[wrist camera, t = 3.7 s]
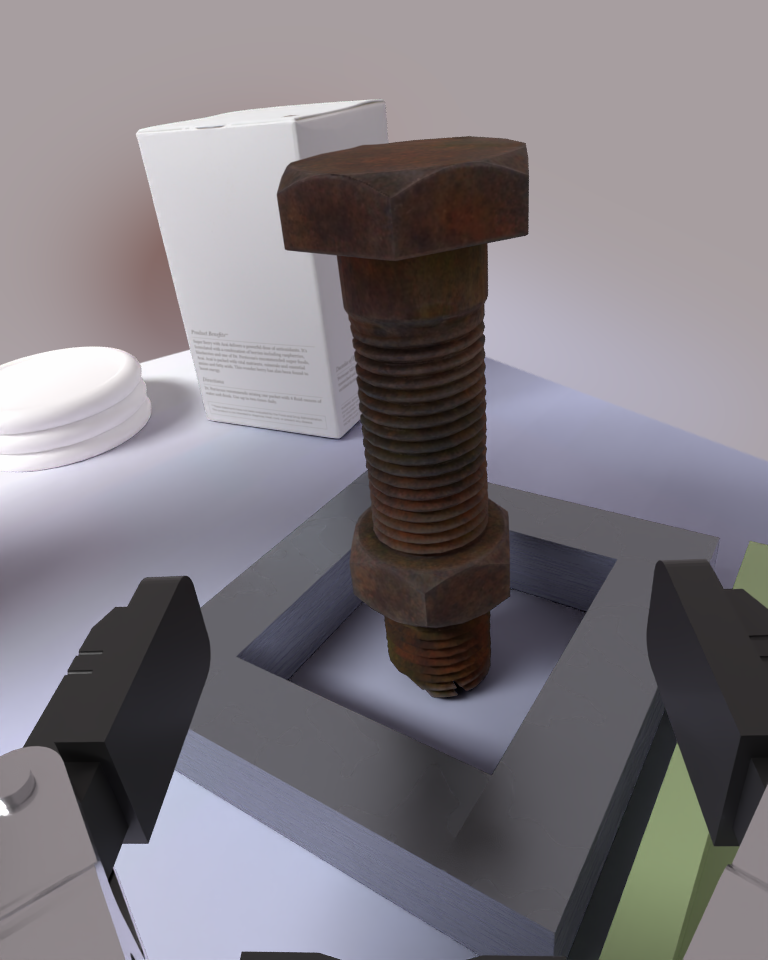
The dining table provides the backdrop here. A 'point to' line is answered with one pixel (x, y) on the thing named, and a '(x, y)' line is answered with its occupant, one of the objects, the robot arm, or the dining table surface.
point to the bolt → (420, 379)
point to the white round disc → (68, 406)
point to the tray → (676, 847)
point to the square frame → (424, 770)
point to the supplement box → (257, 263)
